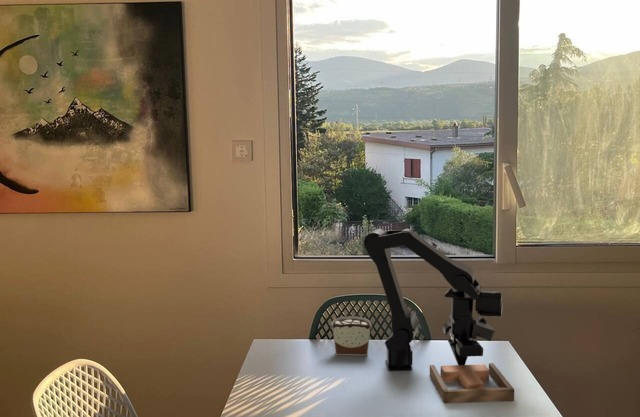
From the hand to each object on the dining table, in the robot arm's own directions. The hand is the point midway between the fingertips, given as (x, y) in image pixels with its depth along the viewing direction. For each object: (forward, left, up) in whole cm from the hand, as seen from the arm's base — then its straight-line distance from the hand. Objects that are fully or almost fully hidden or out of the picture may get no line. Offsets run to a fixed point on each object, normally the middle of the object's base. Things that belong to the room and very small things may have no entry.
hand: (461, 368), depth 167 cm
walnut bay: (0, -9, -2) cm, 9 cm away
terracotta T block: (0, -7, -2) cm, 7 cm away
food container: (-28, +19, -2) cm, 34 cm away
